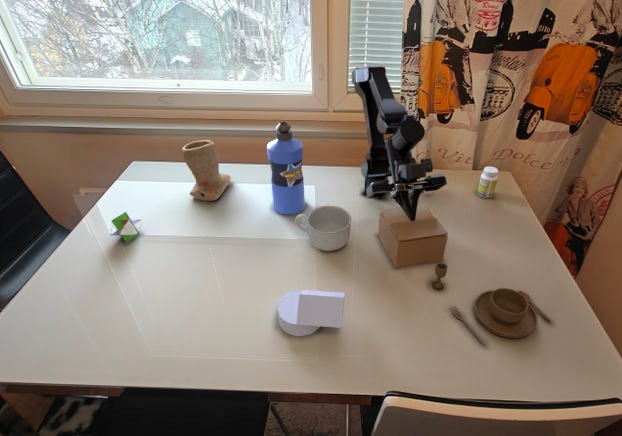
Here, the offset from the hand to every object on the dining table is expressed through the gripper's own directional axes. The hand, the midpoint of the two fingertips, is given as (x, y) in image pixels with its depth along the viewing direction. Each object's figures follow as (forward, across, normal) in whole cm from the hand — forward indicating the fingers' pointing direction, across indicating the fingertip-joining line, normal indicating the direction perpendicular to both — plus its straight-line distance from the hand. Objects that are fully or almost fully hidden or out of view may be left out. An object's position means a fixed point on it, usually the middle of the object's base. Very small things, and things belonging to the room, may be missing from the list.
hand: (413, 220), depth 92 cm
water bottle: (-13, -27, +24) cm, 38 cm away
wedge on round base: (+18, -28, -6) cm, 34 cm away
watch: (-12, +15, +24) cm, 30 cm away
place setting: (+21, +9, -9) cm, 25 cm away
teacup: (+1, -20, +11) cm, 23 cm away
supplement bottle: (-8, +33, +20) cm, 39 cm away
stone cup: (-23, -50, +34) cm, 65 cm away
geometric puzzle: (-8, -69, +20) cm, 72 cm away
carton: (+6, 0, +6) cm, 8 cm away
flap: (-2, 0, +3) cm, 3 cm away
